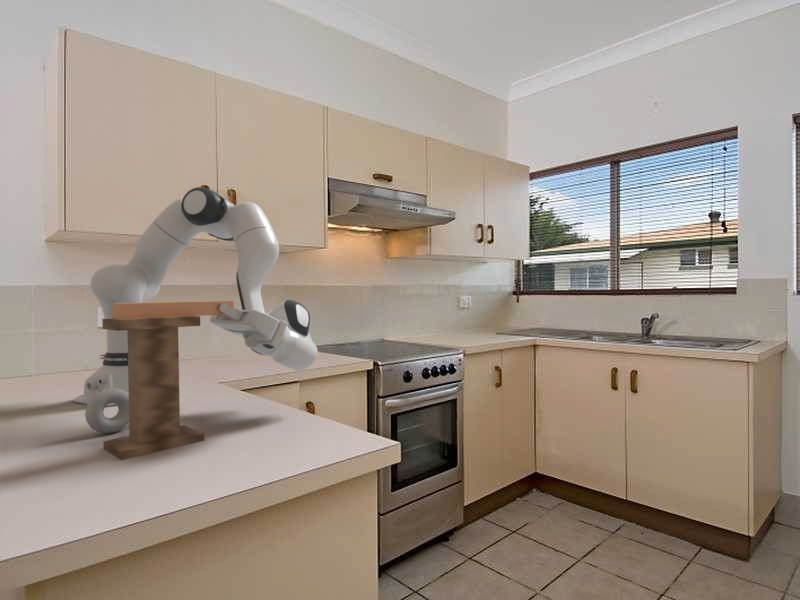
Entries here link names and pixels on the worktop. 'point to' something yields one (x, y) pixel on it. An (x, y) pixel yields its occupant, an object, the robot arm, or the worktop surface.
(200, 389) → the worktop surface
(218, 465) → the worktop surface
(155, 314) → the rod
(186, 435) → the stand
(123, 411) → the donut
